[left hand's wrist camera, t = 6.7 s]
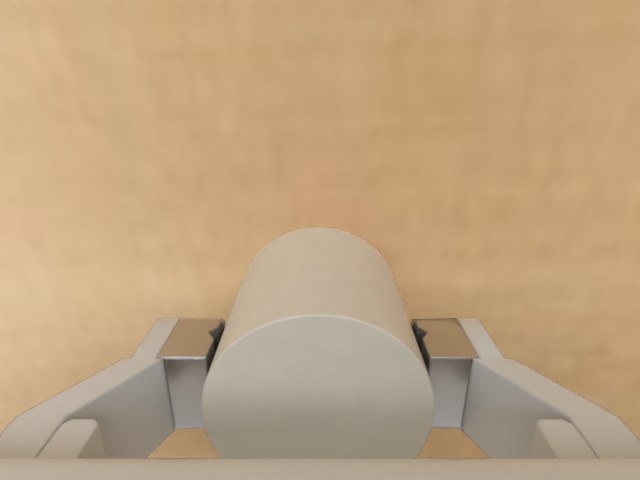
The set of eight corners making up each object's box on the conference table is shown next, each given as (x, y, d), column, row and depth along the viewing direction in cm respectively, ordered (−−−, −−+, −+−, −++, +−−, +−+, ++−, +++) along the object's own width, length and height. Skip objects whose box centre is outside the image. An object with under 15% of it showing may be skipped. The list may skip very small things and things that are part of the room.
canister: (308, 193, 11) (301, 265, 7) (428, 290, 12) (485, 404, 8) (210, 307, 12) (154, 427, 8) (327, 386, 13) (330, 529, 9)
